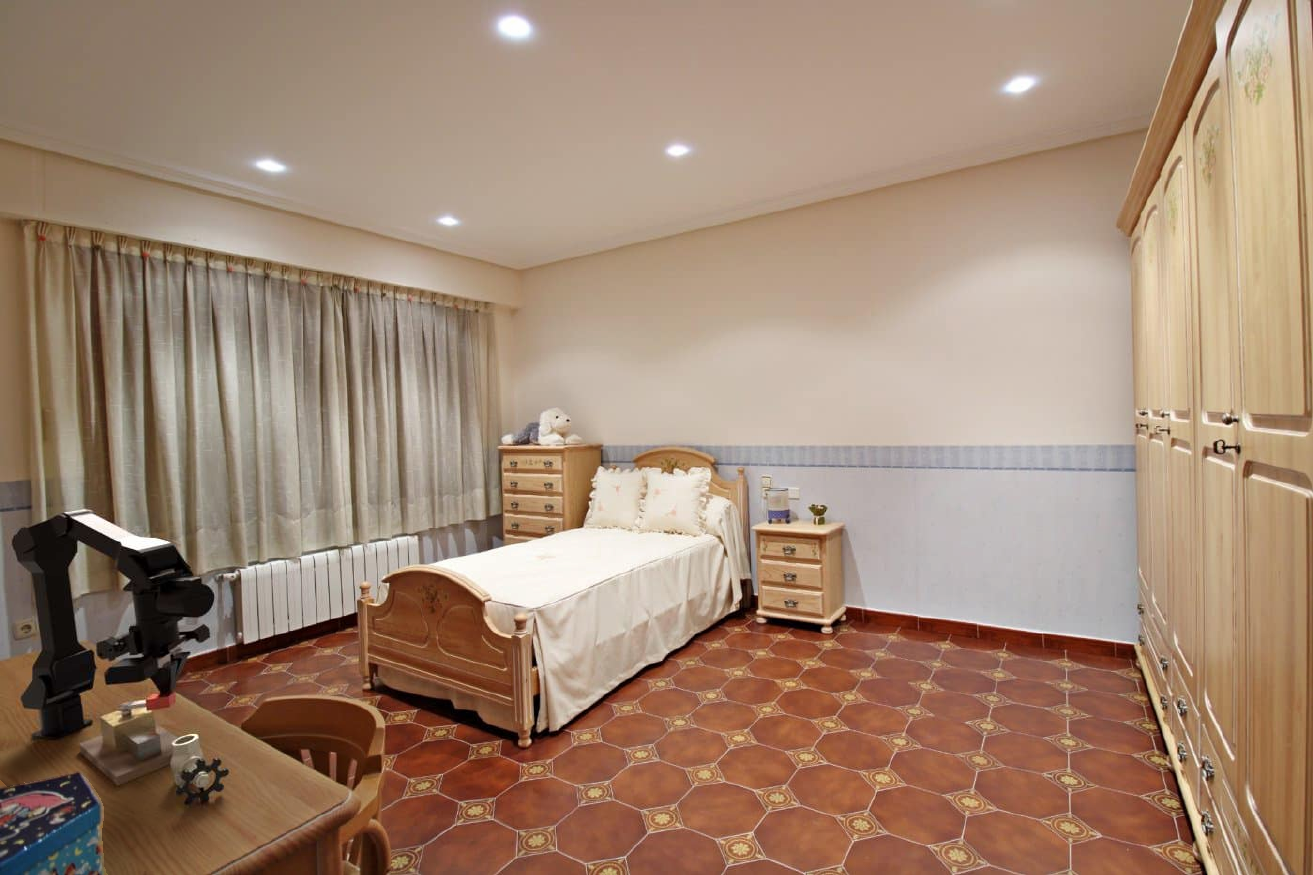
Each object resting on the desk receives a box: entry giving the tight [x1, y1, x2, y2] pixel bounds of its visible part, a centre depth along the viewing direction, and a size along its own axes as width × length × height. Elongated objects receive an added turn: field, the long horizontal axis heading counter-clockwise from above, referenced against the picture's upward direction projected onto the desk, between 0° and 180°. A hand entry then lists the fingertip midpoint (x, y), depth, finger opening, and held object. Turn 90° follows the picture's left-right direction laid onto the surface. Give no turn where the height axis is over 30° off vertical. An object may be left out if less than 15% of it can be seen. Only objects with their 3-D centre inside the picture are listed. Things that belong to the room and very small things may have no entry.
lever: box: [118, 690, 177, 711], centre depth 110 cm, size 8×2×2 cm, turn 104°
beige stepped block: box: [99, 707, 162, 761], centre depth 109 cm, size 16×6×6 cm, turn 56°
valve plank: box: [78, 722, 179, 787], centre depth 109 cm, size 20×10×2 cm, turn 56°
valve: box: [169, 733, 230, 806], centre depth 97 cm, size 7×7×12 cm
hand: (167, 697), depth 113 cm, fingers closed
